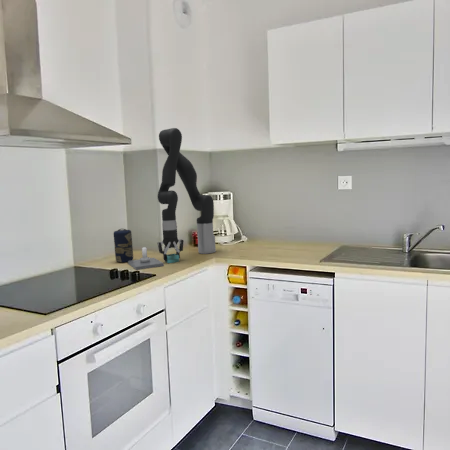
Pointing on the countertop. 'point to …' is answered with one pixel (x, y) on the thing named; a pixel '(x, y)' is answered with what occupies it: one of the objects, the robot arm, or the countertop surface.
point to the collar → (172, 258)
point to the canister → (123, 245)
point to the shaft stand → (145, 261)
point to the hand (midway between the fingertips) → (171, 260)
